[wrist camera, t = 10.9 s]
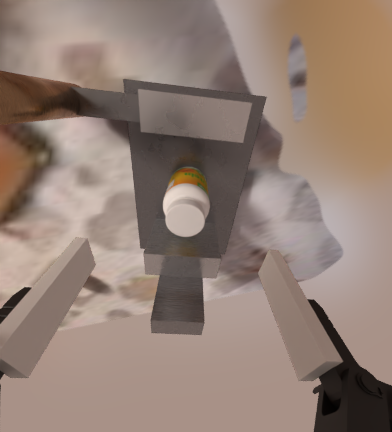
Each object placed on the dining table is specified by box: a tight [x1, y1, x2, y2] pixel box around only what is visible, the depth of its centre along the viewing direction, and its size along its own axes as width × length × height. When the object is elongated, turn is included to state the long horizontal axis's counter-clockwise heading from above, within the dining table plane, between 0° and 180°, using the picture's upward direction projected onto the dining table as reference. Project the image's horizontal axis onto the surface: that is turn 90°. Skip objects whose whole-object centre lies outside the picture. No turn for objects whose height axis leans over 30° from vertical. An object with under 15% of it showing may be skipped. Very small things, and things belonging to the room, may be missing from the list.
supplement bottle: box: [163, 167, 210, 237], centre depth 21 cm, size 5×5×10 cm
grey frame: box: [123, 79, 266, 335], centre depth 21 cm, size 25×16×16 cm, turn 174°
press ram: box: [0, 71, 252, 143], centre depth 15 cm, size 3×19×13 cm, turn 84°
